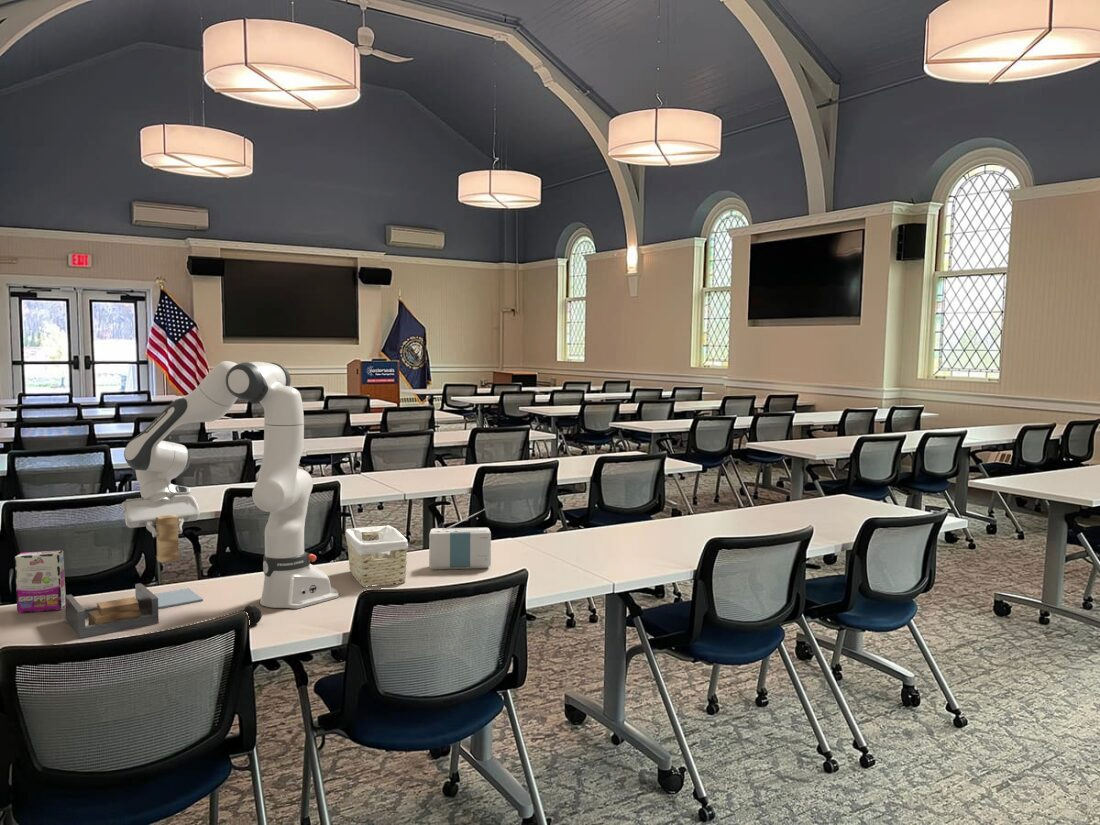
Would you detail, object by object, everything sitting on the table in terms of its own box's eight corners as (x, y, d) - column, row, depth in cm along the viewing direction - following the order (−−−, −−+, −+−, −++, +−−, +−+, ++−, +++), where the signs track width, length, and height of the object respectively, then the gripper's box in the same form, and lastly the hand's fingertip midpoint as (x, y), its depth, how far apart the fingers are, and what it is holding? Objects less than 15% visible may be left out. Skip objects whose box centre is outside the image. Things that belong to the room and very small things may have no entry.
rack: (141, 607, 233) (140, 583, 233) (158, 623, 220) (158, 598, 219) (65, 620, 221) (64, 595, 221) (79, 638, 207) (78, 611, 207)
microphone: (187, 652, 208) (264, 626, 220) (186, 633, 205) (264, 609, 218) (181, 640, 211) (257, 616, 224) (179, 622, 209) (256, 598, 222)
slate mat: (188, 590, 250) (188, 588, 250) (202, 601, 240) (202, 599, 239) (139, 598, 241) (139, 596, 241) (151, 610, 231) (151, 608, 230)
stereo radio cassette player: (429, 571, 275) (429, 513, 273) (429, 565, 283) (429, 508, 281) (490, 569, 277) (491, 512, 276) (489, 563, 286) (489, 507, 284)
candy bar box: (66, 605, 234) (64, 549, 233) (61, 610, 230) (59, 553, 228) (22, 608, 231) (20, 551, 230) (16, 613, 226) (14, 556, 225)
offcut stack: (137, 616, 226) (136, 595, 225) (144, 623, 220) (143, 601, 220) (88, 626, 218) (87, 604, 217) (94, 633, 212) (93, 610, 212)
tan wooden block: (175, 557, 242) (174, 514, 241) (178, 560, 240) (177, 516, 239) (157, 560, 239) (156, 516, 238) (160, 562, 236) (159, 518, 235)
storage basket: (409, 584, 259) (409, 539, 258) (358, 590, 252) (358, 543, 251) (391, 566, 281) (391, 524, 280) (344, 571, 274) (344, 528, 273)
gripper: (121, 493, 236) (130, 532, 230) (195, 487, 249) (205, 523, 243) (118, 506, 240) (127, 545, 233) (191, 499, 253) (201, 535, 246)
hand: (168, 534), depth 238 cm, fingers closed on tan wooden block, 5 cm apart
